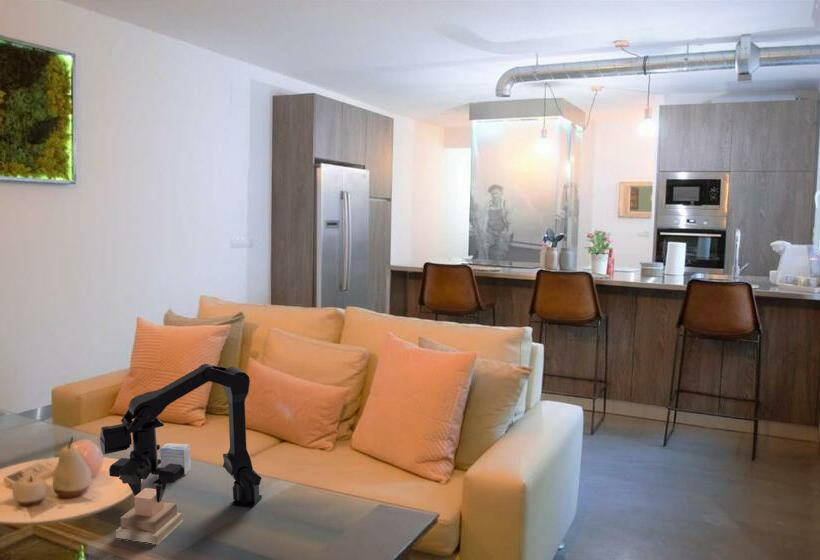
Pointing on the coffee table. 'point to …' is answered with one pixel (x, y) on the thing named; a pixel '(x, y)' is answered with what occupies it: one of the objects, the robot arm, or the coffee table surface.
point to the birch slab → (151, 537)
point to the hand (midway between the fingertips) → (148, 500)
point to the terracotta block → (147, 503)
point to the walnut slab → (149, 519)
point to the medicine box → (176, 455)
